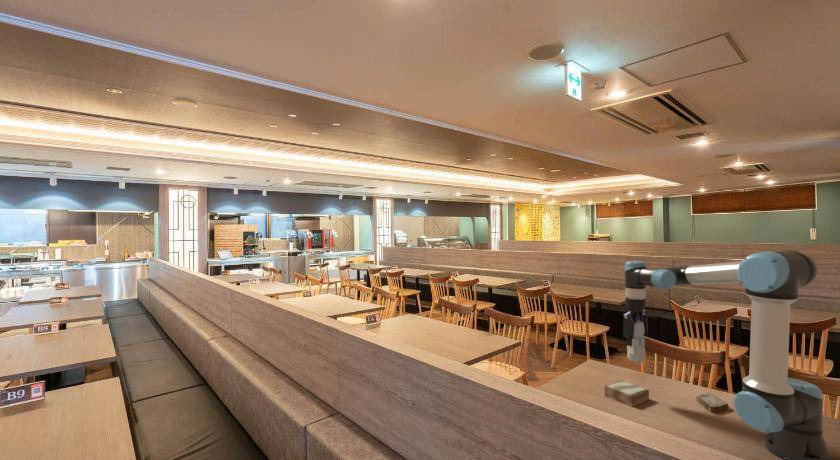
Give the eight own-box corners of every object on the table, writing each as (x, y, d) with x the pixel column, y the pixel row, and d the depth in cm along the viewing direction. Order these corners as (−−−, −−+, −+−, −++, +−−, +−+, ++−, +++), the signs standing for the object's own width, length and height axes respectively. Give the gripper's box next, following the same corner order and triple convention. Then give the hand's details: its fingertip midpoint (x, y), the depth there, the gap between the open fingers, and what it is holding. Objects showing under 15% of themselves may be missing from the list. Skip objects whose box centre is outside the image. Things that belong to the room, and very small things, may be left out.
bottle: (623, 359, 162) (622, 313, 162) (634, 357, 165) (633, 311, 164) (637, 365, 156) (637, 316, 156) (648, 362, 159) (648, 314, 158)
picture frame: (649, 399, 158) (648, 389, 158) (631, 406, 152) (631, 396, 152) (621, 389, 169) (621, 379, 169) (604, 395, 163) (604, 385, 163)
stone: (691, 397, 160) (691, 390, 160) (713, 398, 159) (713, 391, 159) (711, 414, 146) (711, 406, 146) (735, 415, 144) (735, 407, 144)
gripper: (640, 293, 167) (641, 345, 168) (612, 298, 159) (613, 353, 159) (657, 296, 161) (658, 350, 161) (629, 301, 152) (630, 358, 153)
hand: (635, 351), depth 160 cm, fingers closed on bottle, 6 cm apart
